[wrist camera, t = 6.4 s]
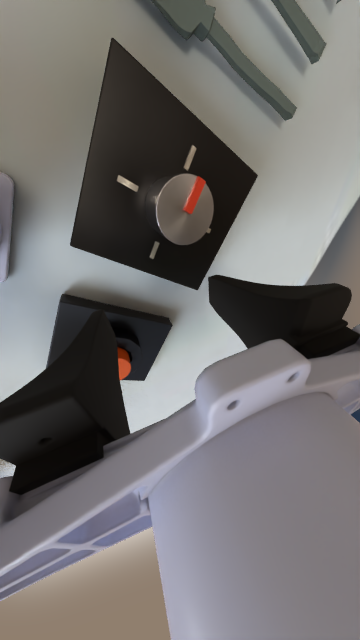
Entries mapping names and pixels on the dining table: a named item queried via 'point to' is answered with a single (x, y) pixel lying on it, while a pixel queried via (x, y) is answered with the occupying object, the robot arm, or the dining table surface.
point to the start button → (123, 363)
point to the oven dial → (180, 207)
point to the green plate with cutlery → (195, 17)
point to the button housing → (128, 325)
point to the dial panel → (151, 175)
